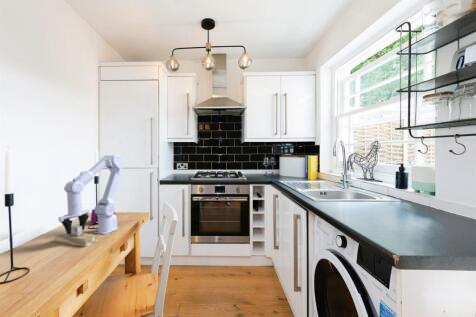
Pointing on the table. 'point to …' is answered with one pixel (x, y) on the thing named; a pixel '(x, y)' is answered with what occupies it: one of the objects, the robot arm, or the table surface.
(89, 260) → the table surface
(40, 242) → the table surface
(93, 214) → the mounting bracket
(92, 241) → the post beam
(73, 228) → the rectangular metal block
